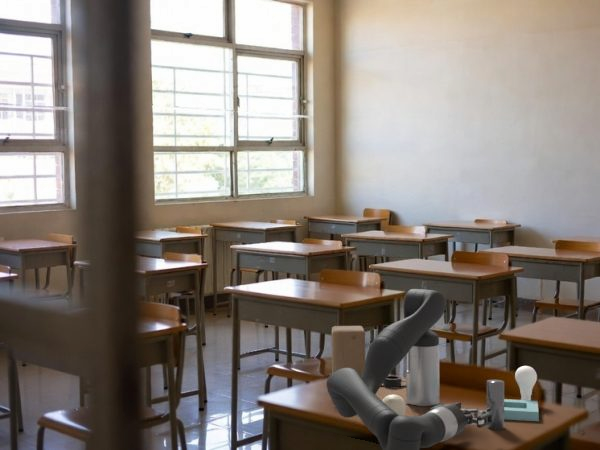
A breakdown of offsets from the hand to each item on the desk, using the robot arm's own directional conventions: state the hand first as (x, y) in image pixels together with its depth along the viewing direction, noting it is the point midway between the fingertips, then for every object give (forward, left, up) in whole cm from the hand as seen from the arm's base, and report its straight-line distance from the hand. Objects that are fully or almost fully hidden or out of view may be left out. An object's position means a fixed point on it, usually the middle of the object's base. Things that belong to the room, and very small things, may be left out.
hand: (475, 408), depth 199 cm
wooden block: (-40, +39, -7) cm, 57 cm away
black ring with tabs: (-28, +50, -8) cm, 58 cm away
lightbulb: (+13, +36, -7) cm, 39 cm away
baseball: (-22, +12, -7) cm, 26 cm away
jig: (+10, +24, -7) cm, 27 cm away
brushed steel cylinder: (+5, +10, -7) cm, 13 cm away
